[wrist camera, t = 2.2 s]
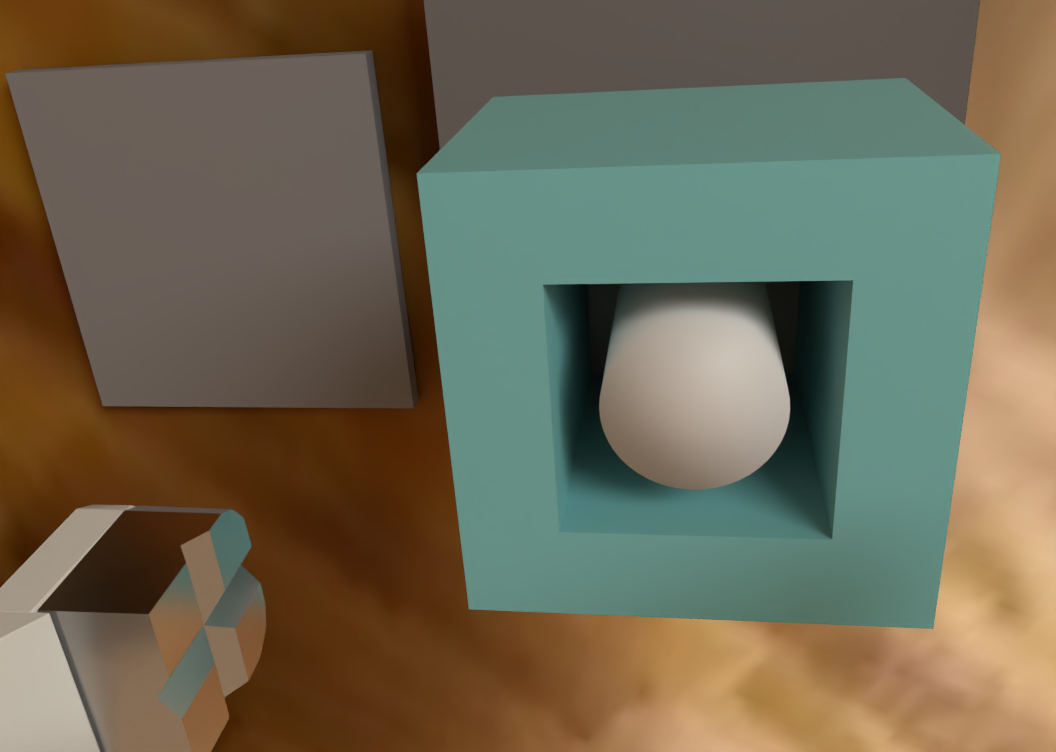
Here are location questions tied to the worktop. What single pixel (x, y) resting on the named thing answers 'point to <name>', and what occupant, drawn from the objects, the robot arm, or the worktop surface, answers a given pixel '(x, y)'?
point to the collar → (711, 256)
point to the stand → (703, 307)
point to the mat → (225, 229)
